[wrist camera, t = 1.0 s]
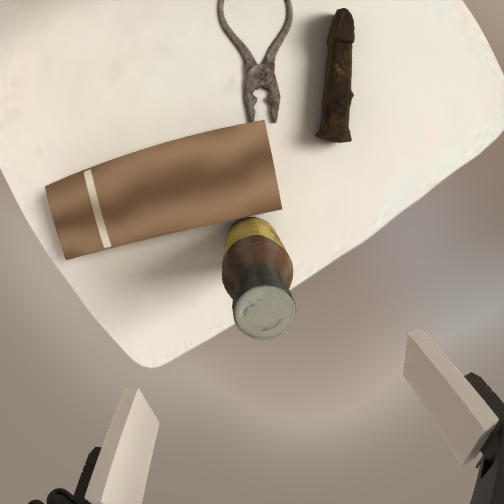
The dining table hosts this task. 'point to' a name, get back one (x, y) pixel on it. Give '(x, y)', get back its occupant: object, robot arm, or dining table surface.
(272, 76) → the pliers
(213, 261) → the dining table surface
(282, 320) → the sauce bottle
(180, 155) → the walnut plank
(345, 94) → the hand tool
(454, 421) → the robot arm
